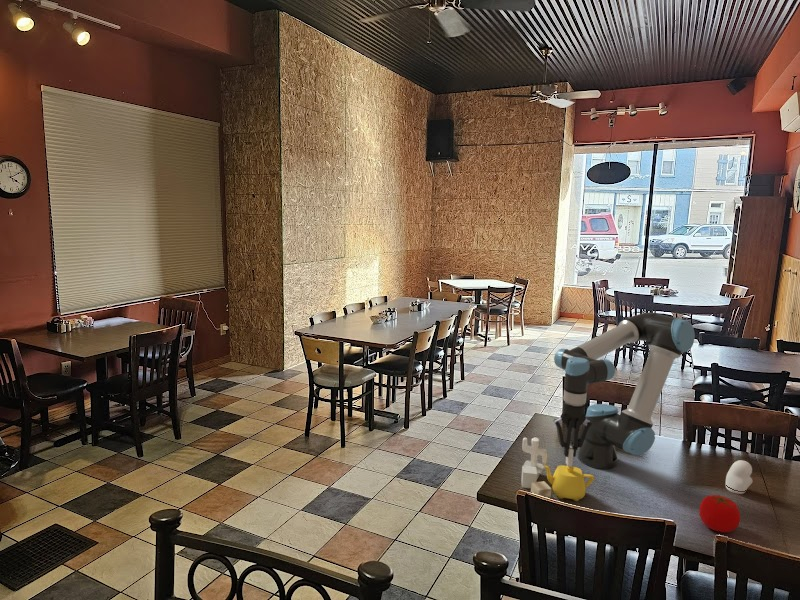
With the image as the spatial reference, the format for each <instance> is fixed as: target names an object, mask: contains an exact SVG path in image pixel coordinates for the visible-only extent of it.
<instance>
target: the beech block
mask: <svg viewBox="0 0 800 600" xmlns="http://www.w3.org/2000/svg"><path fill="white" fill-rule="evenodd" d="M531 492H532V493H535V494H538V495H542V496H544V497H548V498H552V497H551V496H552V487H551V486H550V485H549V484H548V483H547V482H546V481H544V480H543V481H537V482H534V483H531V488H530V493H531Z"/></svg>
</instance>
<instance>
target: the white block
mask: <svg viewBox="0 0 800 600" xmlns="http://www.w3.org/2000/svg"><path fill="white" fill-rule="evenodd" d="M520 479H521V482H520V483H521V488H525V489H531V483H534V482H538V481H537V480H538V479H537V470H536V467H529V466H523V465H522V466H521V478H520Z"/></svg>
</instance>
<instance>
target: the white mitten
mask: <svg viewBox="0 0 800 600" xmlns="http://www.w3.org/2000/svg"><path fill="white" fill-rule="evenodd" d="M752 473H753V467H752V465H751V464H750V463H749V462H748V461H746V460H742V459H740V460H736V461H735V462H734V463H732V465H731V466H730V468H729V469H728V472H726V476H725V489H727V491H729V492H731V493H734V494H739V495H743V494H745V493H746V491H747V490H748V488H749V487H750V486H751V485H752V483H753V478H752V477H751V475H752ZM726 485H727V486H728V487H730V488H732V489H734V490H738V491H745V490H746V491H745V492H738V491H734V490H732V489H730V488H728V487H727V486H726Z"/></svg>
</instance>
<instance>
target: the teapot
mask: <svg viewBox="0 0 800 600" xmlns="http://www.w3.org/2000/svg"><path fill="white" fill-rule="evenodd" d="M543 466H544V469H545V470H546V478H547V481H548V483H549V484H551V490H552V492H553V494H555V496H557V499H560V500H562V499H563V500H564V499H569V500H573V501H575V502H579V501H580V500H581V499H583V498H584V497H585V496H586V489H587V488H588V487H590V485H591V484H592V483H594V480H595V476H594V475H593V474H590V473H589V474H587V473H583V470H582V469H581V468H579V467H576V466H572V467H570V466H567V465H558V466H557V467H556V469H555V471H554V472H553V475H552V473H551V468H550V467H549V466H548V465H546V464H544V465H543ZM585 478H588V481H587V482H586V480H585Z"/></svg>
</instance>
